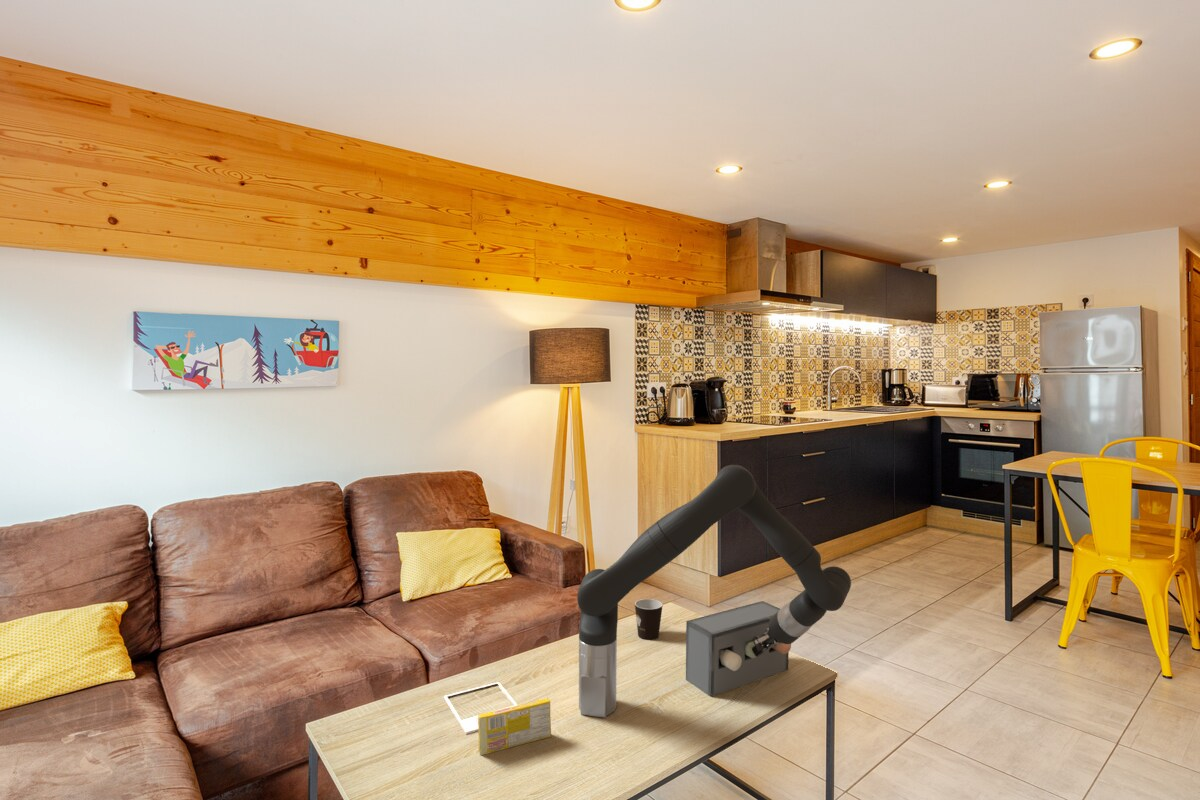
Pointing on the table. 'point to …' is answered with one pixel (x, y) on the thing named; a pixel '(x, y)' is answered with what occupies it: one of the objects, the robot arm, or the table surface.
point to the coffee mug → (648, 618)
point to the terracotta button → (783, 648)
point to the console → (730, 648)
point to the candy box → (514, 726)
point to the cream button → (730, 659)
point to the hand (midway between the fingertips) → (755, 652)
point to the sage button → (749, 649)
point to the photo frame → (472, 722)
